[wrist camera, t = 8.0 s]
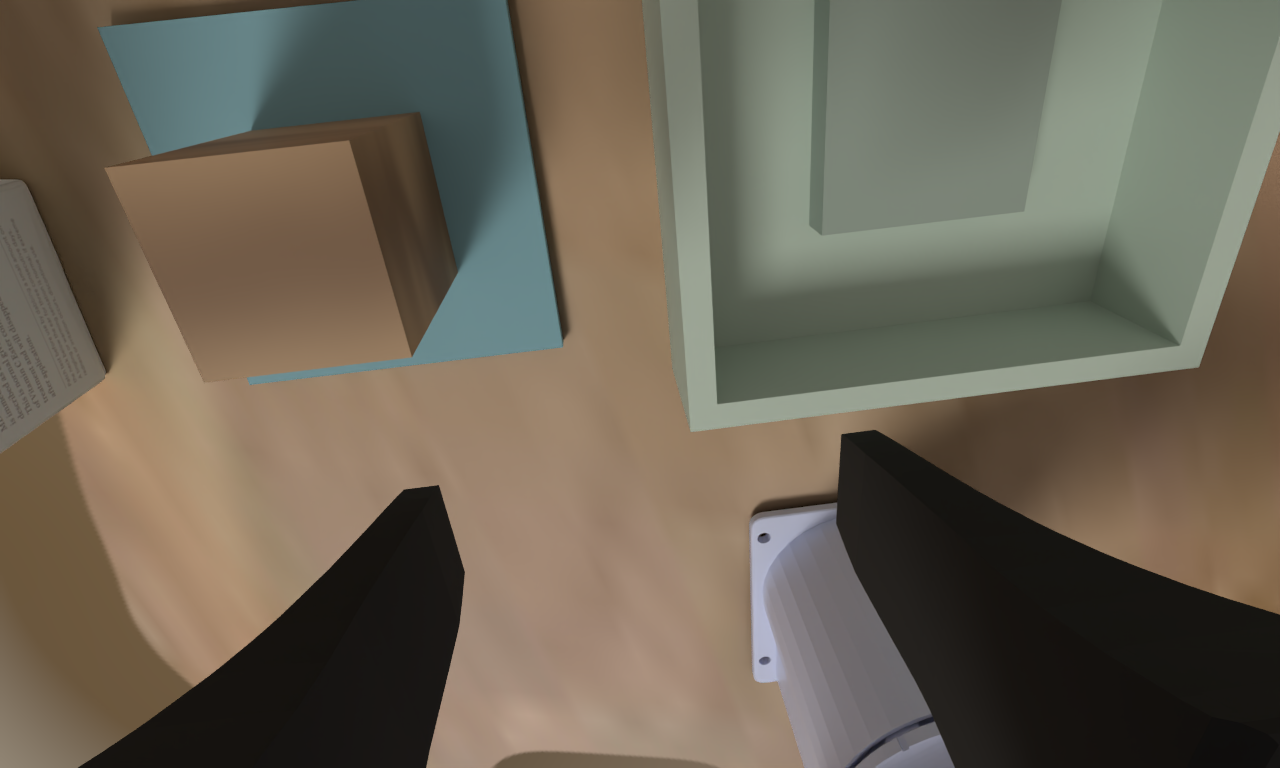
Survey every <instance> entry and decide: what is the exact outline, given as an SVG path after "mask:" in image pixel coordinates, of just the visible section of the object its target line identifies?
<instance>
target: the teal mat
mask: <svg viewBox="0 0 1280 768" xmlns="http://www.w3.org/2000/svg"><path fill="white" fill-rule="evenodd" d="M97 28H98V30H99V33H100V35H101V37H102V40H103V42H104V44H105V47H106V49H107V51H108V54H109V56H110V58H111V61H112V63H113V65H114V68H115V70H116V72H117V75H118V77H119V80H120V82H121V84H122V87H123V89H124V91H125V94H126V96H127V98H128V101H129V103H130V105H131V108H132V110H133V112H134V115H135V117H136V119H137V122H138V124H139V126H140V129H141V131H142V133H143V136H144V138H145V140H146V143H147V145H148V147H149V150H150V152H151V154H152V156H153V155H157V154H161V153H165V152H169V151H173V150H177V149H181V148H185V147H189V146H192V145H196V144H200V143H204V142H208V141H212V140H216V139H220V138H224V137H228V136H232V135H236V134H240V133H244V132H248V131H252V130H261V129H270V128H279V127H288V126H297V125H306V124H315V123H324V122H333V121H342V120H351V119H360V118H369V117H378V116H387V115H396V114H405V113H414V112H420V114H421V119H422V123H423V127H424V131H425V135H426V140H427V144H428V148H429V152H430V157H431V161H432V165H433V169H434V173H435V178H436V182H437V186H438V190H439V195H440V199H441V203H442V207H443V211H444V216H445V220H446V224H447V228H448V233H449V237H450V241H451V245H452V249H453V254H454V258H455V262H456V266H457V270H458V274H457V276H456V277H455V279H454V281H453V283H452V285H451V287H450V288H449V290H448V292H447V294H446V296H445V298H444V300H443V301H442V303H441V305H440V307H439V309H438V311H437V312H436V314H435V316H434V318H433V320H432V322H431V323H430V325H429V327H428V329H427V331H426V333H425V334H424V336H423V338H422V340H421V342H420V344H419V345H418V347H417V349H416V351H415V353H414V355H413V356H412V357H411V358H403V359H395V360H386V361H378V362H370V363H362V364H353V365H345V366H337V367H329V368H320V369H312V370H304V371H296V372H288V373H279V374H271V375H263V376H255V377H247V379H248V382H249V384H250V385H252V384H261V383H269V382H277V381H286V380H294V379H302V378H311V377H319V376H327V375H336V374H344V373H352V372H361V371H369V370H377V369H386V368H394V367H402V366H411V365H419V364H427V363H436V362H444V361H452V360H461V359H469V358H477V357H486V356H494V355H502V354H511V353H519V352H527V351H536V350H544V349H552V348H561V347H563V336H562V330H561V324H560V318H559V312H558V306H557V300H556V293H555V287H554V281H553V275H552V269H551V263H550V257H549V251H548V245H547V239H546V233H545V226H544V220H543V214H542V208H541V202H540V196H539V190H538V184H537V178H536V172H535V166H534V160H533V153H532V147H531V141H530V135H529V129H528V123H527V117H526V111H525V105H524V99H523V93H522V86H521V80H520V74H519V68H518V62H517V56H516V50H515V44H514V38H513V32H512V26H511V19H510V13H509V7H508V1H507V0H356V1H346V2H337V3H327V4H318V5H308V6H298V7H289V8H279V9H270V10H260V11H250V12H241V13H231V14H222V15H212V16H202V17H193V18H183V19H174V20H164V21H154V22H145V23H135V24H126V25H116V26H107V27H97Z"/></svg>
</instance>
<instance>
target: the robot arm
mask: <svg viewBox="0 0 1280 768" xmlns="http://www.w3.org/2000/svg"><path fill="white" fill-rule="evenodd" d="M762 533H767V534H766V535H765V536H762V537H760V536H759V535H760V534H762ZM749 541H750V590H751V640H752V672H753V676H754V679H755V680H756V681H758V682H761V683H766V682H774V681H778V684H779V687H780V690H781V694H782V697H783V700H784V703H785V707H786V710H787V713H788V716H789V719H790V723H791V726H792V729H793V732H794V736H795V739H796V742H797V745H798V748H799V752H800V755H801V758H802V761H803V765H804V768H1280V615H1279V614H1276V613H1273V612H1269V611H1266V610H1263V609H1259V608H1256V607H1253V606H1250V605H1246V604H1243V603H1240V602H1237V601H1233V600H1230V599H1227V598H1224V597H1221V596H1218V595H1215V594H1212V593H1209V592H1206V591H1203V590H1200V589H1197V588H1194V587H1191V586H1188V585H1185V584H1183V583H1180V582H1177V581H1174V580H1172V579H1169V578H1166V577H1164V576H1161V575H1158V574H1156V573H1153V572H1150V571H1148V570H1145V569H1142V568H1139V567H1137V566H1134V565H1132V564H1129V563H1127V562H1124V561H1122V560H1119V559H1117V558H1114V557H1112V556H1109V555H1107V554H1104V553H1102V552H1100V551H1098V550H1095V549H1093V548H1091V547H1089V546H1086V545H1084V544H1082V543H1080V542H1077V541H1075V540H1073V539H1071V538H1068V537H1066V536H1064V535H1062V534H1059V533H1057V532H1055V531H1053V530H1051V529H1049V528H1047V527H1045V526H1043V525H1041V524H1039V523H1037V522H1035V521H1033V520H1031V519H1029V518H1027V517H1025V516H1023V515H1021V514H1019V513H1017V512H1015V511H1014V510H1012V509H1010V508H1008V507H1006V506H1004V505H1002V504H1000V503H998V502H996V501H995V500H993V499H991V498H989V497H988V496H986V495H984V494H982V493H980V492H979V491H977V490H975V489H973V488H972V487H970V486H968V485H966V484H965V483H963V482H961V481H960V480H958V479H956V478H955V477H953V476H951V475H949V474H948V473H946V472H945V471H943V470H941V469H940V468H938V467H936V466H935V465H933V464H931V463H930V462H928V461H926V460H925V459H923V458H922V457H920V456H918V455H917V454H915V453H913V452H912V451H910V450H909V449H907V448H905V447H904V446H902V445H900V444H899V443H897V442H895V441H894V440H892V439H890V438H889V437H887V436H885V435H883V434H882V433H880V432H878V431H876V430H871V431H863V432H855V433H848V434H842V435H841V451H840V467H839V483H838V499H837V503H830V504H822V505H814V506H806V507H799V508H791V509H783V510H775V511H767V512H761V513H757V514H756V515H754V516H753V517H752V518H751V519H750V522H749ZM464 575H465V571H464V568H463V565H462V561H461V558H460V554H459V551H458V548H457V544H456V541H455V538H454V534H453V531H452V528H451V524H450V521H449V518H448V514H447V511H446V508H445V504H444V501H443V498H442V494H441V491H440V488H439V485H437V486H429V487H421V488H414V489H406V490H403V491H402V492H401V493H400V494H399V495H398V496H397V497H396V498H395V499H394V500H393V502H392V503H391V504H390V505H389V506H388V507H387V508H386V509H385V510H384V511H383V512H382V513H381V514H380V515H379V517H378V518H377V519H376V520H375V521H374V522H373V523H372V524H371V525H370V526H369V527H368V529H367V530H366V531H365V532H364V533H363V534H362V535H361V536H360V537H359V538H358V539H357V540H356V541H355V542H354V543H353V544H352V546H351V547H350V548H349V549H348V550H347V551H346V552H345V553H344V554H343V555H342V556H341V557H340V558H339V559H338V560H337V561H336V562H335V563H334V564H333V566H332V567H331V568H330V569H329V570H328V571H327V572H326V573H325V574H324V575H323V576H322V577H320V578H319V579H318V580H317V581H316V582H315V583H314V584H313V585H312V586H311V587H310V588H309V589H308V590H307V591H306V592H305V593H304V594H303V595H302V596H301V597H300V598H299V599H298V600H297V601H296V602H295V603H294V604H293V605H291V606H290V607H289V608H288V609H287V610H286V611H285V612H284V613H283V614H282V615H281V616H280V617H279V618H278V619H277V620H276V621H274V622H273V623H272V624H271V625H270V626H269V627H268V628H267V629H265V630H264V631H263V632H262V633H261V634H260V635H259V636H257V637H256V638H255V639H254V640H253V641H252V642H250V643H249V644H248V645H247V646H246V647H244V648H243V649H242V650H241V651H239V652H238V653H237V654H236V655H235V656H233V657H232V658H231V659H230V660H229V661H227V662H226V663H225V664H224V665H222V666H221V667H220V668H219V669H217V670H216V671H215V672H214V673H212V674H211V675H210V676H209V677H207V678H206V679H204V680H203V681H202V682H200V683H199V684H198V685H196V686H195V687H194V688H192V689H191V690H189V691H188V692H187V693H185V694H184V695H183V696H181V697H180V698H179V699H177V700H176V701H175V702H173V703H172V704H171V705H169V706H168V707H166V708H165V709H164V710H162V711H161V712H160V713H158V714H157V715H156V716H154V717H153V718H151V719H150V720H149V721H147V722H146V723H145V724H143V725H142V726H140V727H139V728H137V729H136V730H134V731H133V732H131V733H130V734H128V735H127V736H126V737H124V738H123V739H121V740H120V741H118V742H117V743H115V744H114V745H112V746H111V747H109V748H108V749H106V750H105V751H103V752H102V753H100V754H99V755H97V756H95V757H94V758H92V759H91V760H89V761H88V762H86V763H85V764H83V765H81V766H80V767H78V768H426V765H427V760H428V755H429V750H430V746H431V742H432V738H433V734H434V730H435V725H436V721H437V717H438V713H439V709H440V705H441V701H442V696H443V692H444V688H445V684H446V680H447V676H448V672H449V668H450V663H451V659H452V655H453V650H454V646H455V642H456V638H457V633H458V629H459V623H460V615H461V606H462V596H463V586H464Z"/></svg>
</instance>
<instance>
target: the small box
mask: <svg viewBox="0 0 1280 768" xmlns="http://www.w3.org/2000/svg"><path fill="white" fill-rule="evenodd" d="M105 374H106V370H105V368H104V366H103V364H102V361H101V359H100V357H99V354H98V352H97V350H96V347H95V345H94V343H93V340H92V338H91V336H90V333H89V331H88V328H87V326H86V323H85V321H84V319H83V316H82V314H81V312H80V310H79V307H78V305H77V303H76V300H75V298H74V295H73V293H72V290H71V288H70V286H69V283H68V281H67V278H66V276H65V273H64V271H63V268H62V266H61V263H60V261H59V258H58V256H57V253H56V251H55V249H54V247H53V244H52V242H51V239H50V237H49V235H48V232H47V230H46V227H45V225H44V223H43V221H42V219H41V216H40V214H39V212H38V209H37V207H36V205H35V202H34V200H33V198H32V196H31V193H30V191H29V189H28V187H27V185H26V184H25V183H24V182H23V181H22V180H15V179H0V453H2V452H3V451H5V450H6V449H8V448H9V447H11V446H12V445H13V444H14V443H16V442H17V441H18V440H19V439H21V438H23V437H24V436H26V435H27V434H29V433H30V432H32V431H33V430H34V429H36V428H37V427H38V426H40V425H41V424H42V423H44V422H45V421H47V420H48V419H49V418H51V417H52V416H54V415H55V414H57V413H58V412H59V411H61V410H62V409H64V408H65V407H67V406H68V405H69V404H71V403H72V402H73V401H75V400H76V399H77V398H79V397H80V396H82V395H83V394H85V393H86V392H88V391H89V390H90V389H92V388H93V387H95V386H96V385H97V384H99V383H100V382H102V380H103V379H104V378H105Z"/></svg>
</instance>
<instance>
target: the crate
mask: <svg viewBox="0 0 1280 768" xmlns="http://www.w3.org/2000/svg"><path fill="white" fill-rule="evenodd" d="M642 8H643V20H644V32H645V44H646V56H647V68H648V80H649V92H650V104H651V116H652V128H653V140H654V152H655V164H656V176H657V188H658V200H659V213H660V225H661V237H662V249H663V261H664V273H665V285H666V297H667V309H668V321H669V333H670V345H671V357H672V369H673V372H674V376H675V379H676V383H677V386H678V390H679V393H680V397H681V400H682V404H683V407H684V411H685V414H686V417H687V421H688V424H689V428H690V431H691V432H695V431H703V430H711V429H719V428H726V427H734V426H742V425H750V424H758V423H766V422H773V421H781V420H789V419H797V418H805V417H813V416H820V415H828V414H836V413H844V412H852V411H860V410H868V409H875V408H883V407H891V406H899V405H907V404H915V403H922V402H930V401H938V400H946V399H954V398H962V397H969V396H977V395H985V394H993V393H1001V392H1009V391H1016V390H1024V389H1032V388H1040V387H1048V386H1056V385H1064V384H1071V383H1079V382H1087V381H1095V380H1103V379H1111V378H1118V377H1126V376H1134V375H1142V374H1150V373H1158V372H1165V371H1173V370H1181V369H1189V368H1197V367H1199V365H1200V363H1201V360H1202V357H1203V354H1204V351H1205V348H1206V345H1207V342H1208V339H1209V336H1210V333H1211V330H1212V327H1213V325H1214V322H1215V319H1216V316H1217V313H1218V310H1219V307H1220V304H1221V301H1222V298H1223V295H1224V292H1225V289H1226V287H1227V284H1228V281H1229V278H1230V275H1231V272H1232V269H1233V266H1234V263H1235V260H1236V257H1237V254H1238V251H1239V249H1240V246H1241V243H1242V240H1243V237H1244V234H1245V231H1246V228H1247V225H1248V222H1249V219H1250V216H1251V213H1252V211H1253V208H1254V205H1255V202H1256V199H1257V196H1258V193H1259V190H1260V187H1261V184H1262V181H1263V178H1264V175H1265V173H1266V170H1267V167H1268V164H1269V161H1270V158H1271V155H1272V152H1273V149H1274V146H1275V143H1276V140H1277V137H1278V134H1279V132H1280V0H642Z"/></svg>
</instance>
